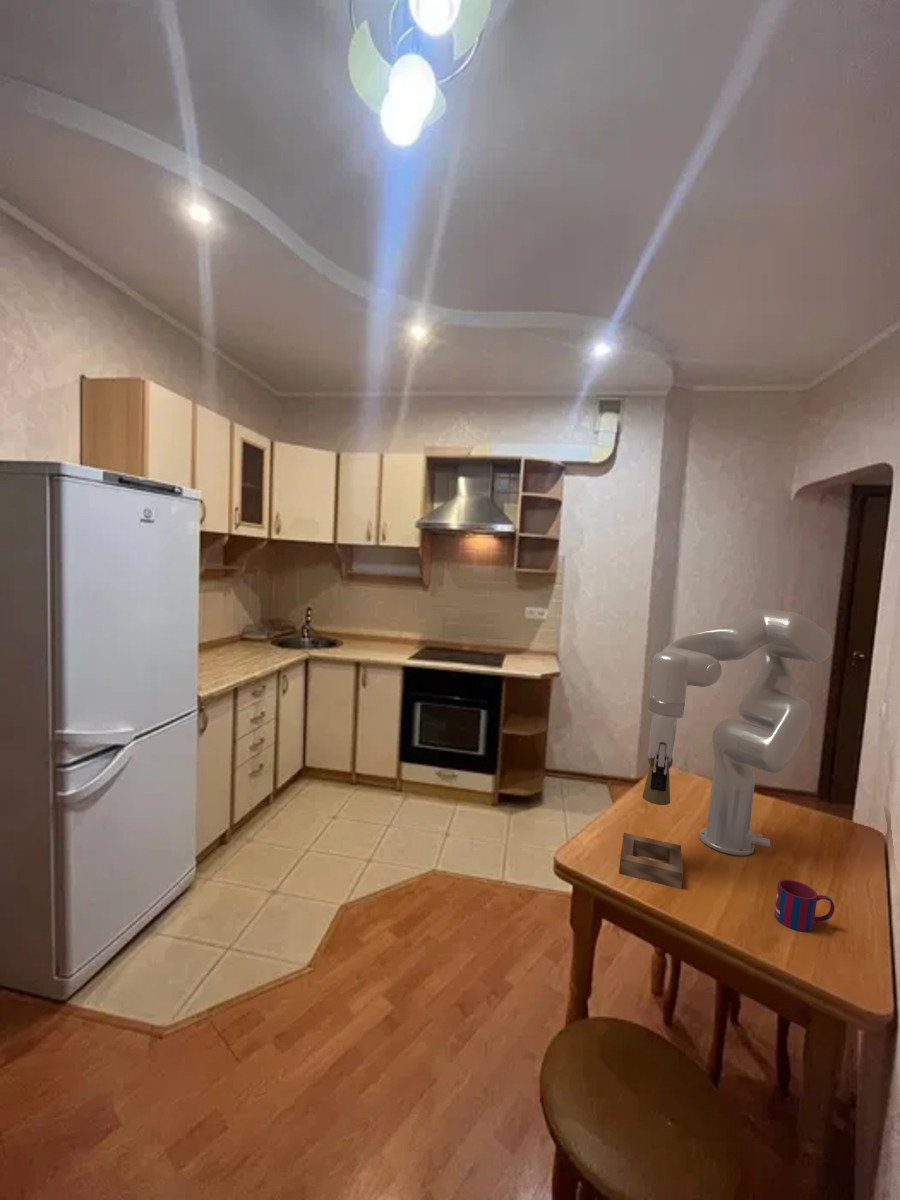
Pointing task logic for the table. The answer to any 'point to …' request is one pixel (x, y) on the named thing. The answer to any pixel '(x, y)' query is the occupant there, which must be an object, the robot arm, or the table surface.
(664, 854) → the walnut holder
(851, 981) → the table surface
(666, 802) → the olive knobbed peg
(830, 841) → the table surface
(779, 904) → the mug
